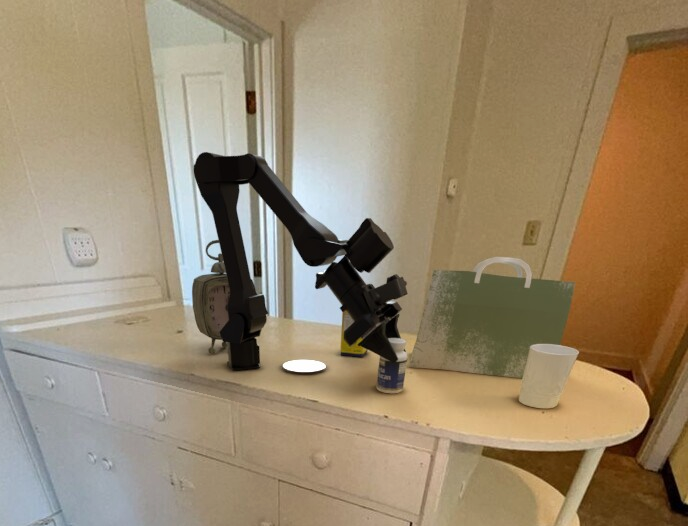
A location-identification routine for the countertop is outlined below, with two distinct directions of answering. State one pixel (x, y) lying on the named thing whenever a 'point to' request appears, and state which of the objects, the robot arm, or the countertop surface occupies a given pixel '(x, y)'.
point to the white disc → (304, 367)
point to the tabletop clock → (212, 300)
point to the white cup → (546, 374)
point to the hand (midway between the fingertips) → (400, 357)
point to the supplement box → (345, 348)
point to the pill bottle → (393, 369)
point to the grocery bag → (489, 319)
